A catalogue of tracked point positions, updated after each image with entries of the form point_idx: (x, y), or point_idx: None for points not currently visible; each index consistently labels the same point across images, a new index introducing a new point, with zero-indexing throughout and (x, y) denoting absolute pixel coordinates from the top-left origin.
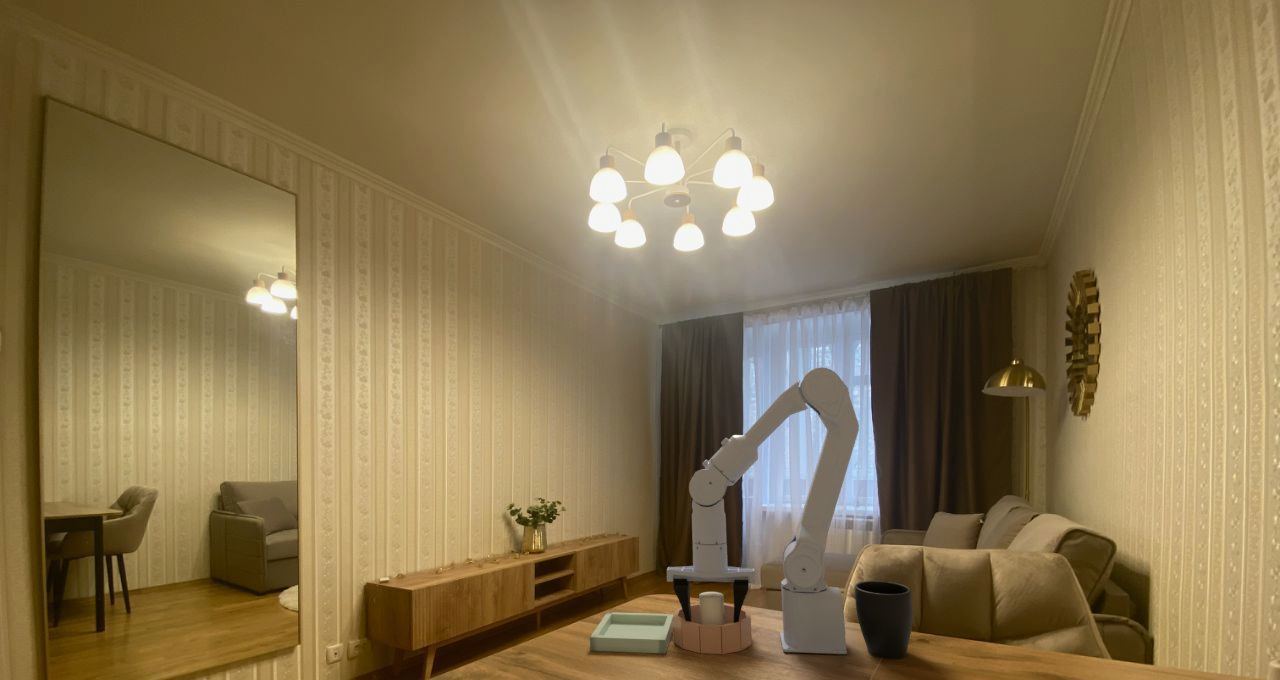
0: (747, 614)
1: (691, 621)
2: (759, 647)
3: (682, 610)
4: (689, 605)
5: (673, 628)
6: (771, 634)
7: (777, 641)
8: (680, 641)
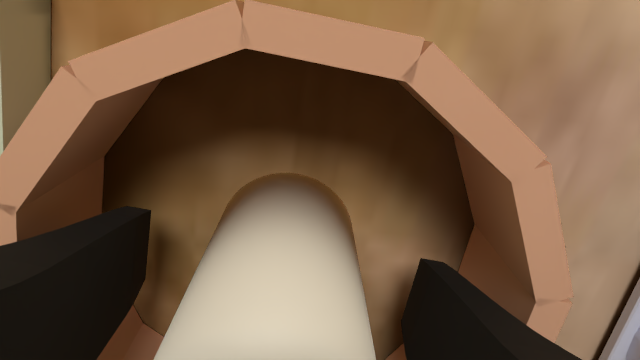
0: None
1: (144, 217)
2: None
3: (44, 177)
4: (77, 316)
5: None
6: (630, 185)
7: (610, 284)
8: None
